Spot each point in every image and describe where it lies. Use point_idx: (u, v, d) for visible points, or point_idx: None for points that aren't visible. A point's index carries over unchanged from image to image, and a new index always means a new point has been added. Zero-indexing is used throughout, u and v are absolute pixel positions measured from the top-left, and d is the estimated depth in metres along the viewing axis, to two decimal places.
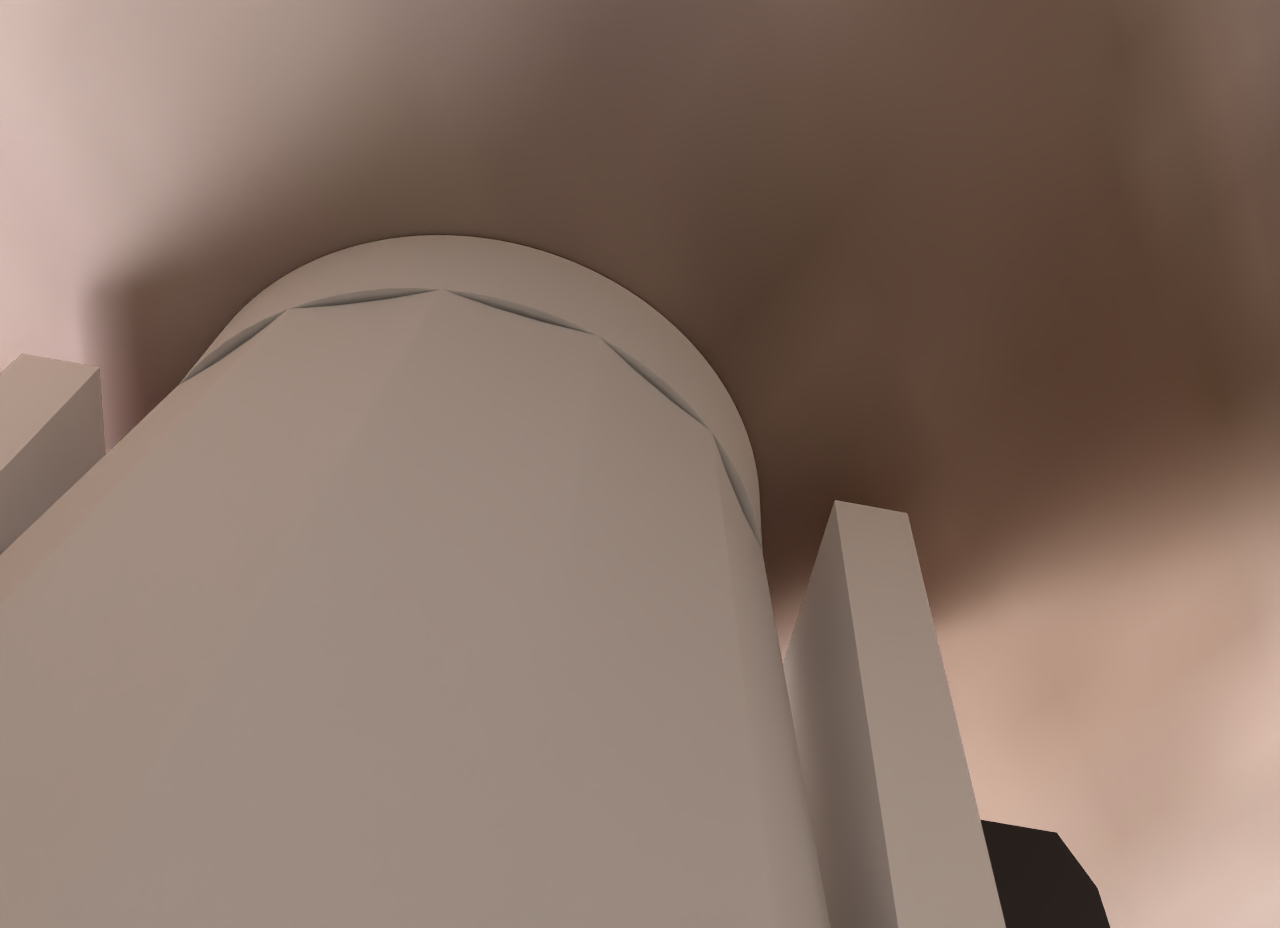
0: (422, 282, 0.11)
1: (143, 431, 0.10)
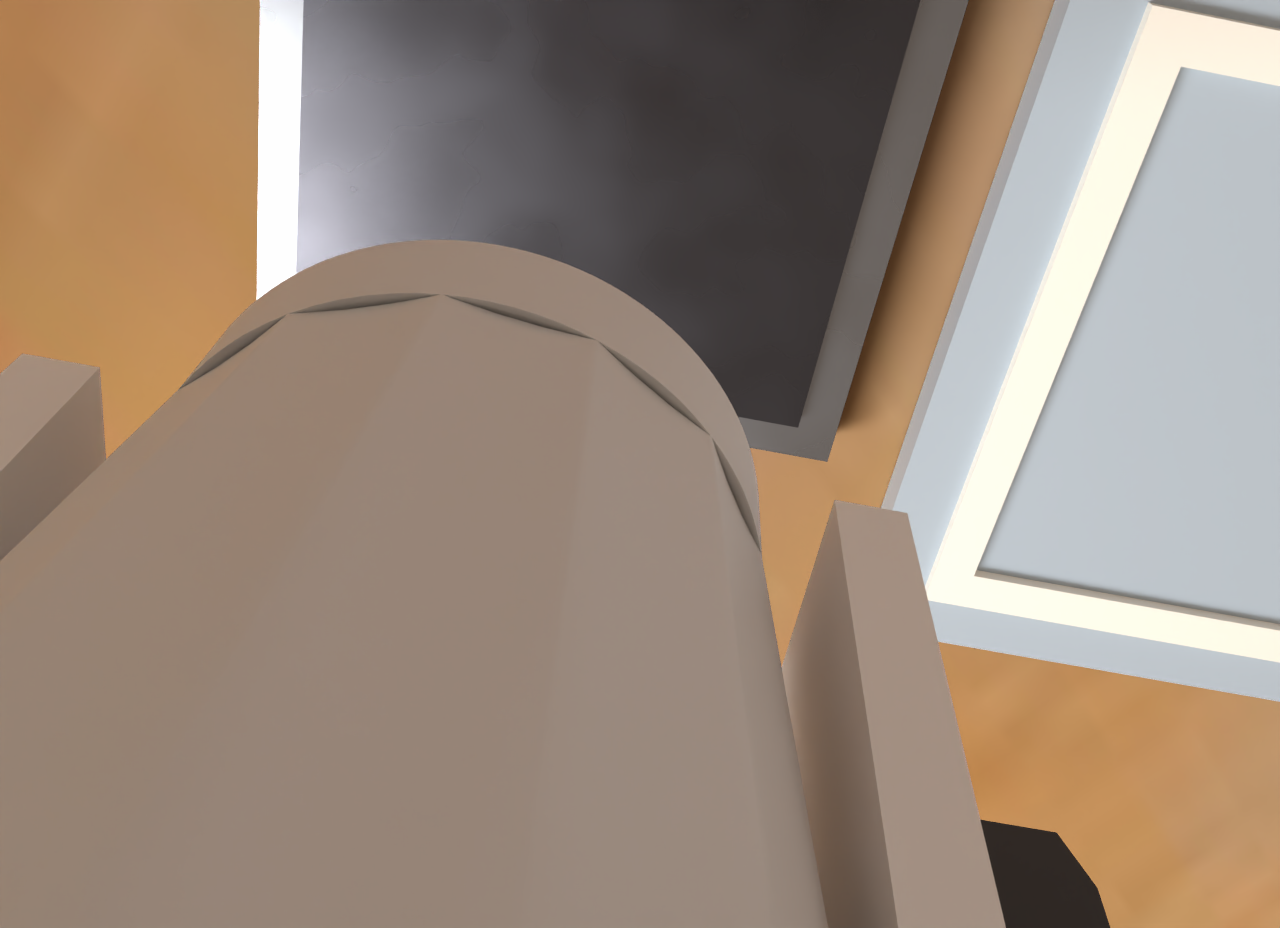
0: (421, 287, 0.11)
1: (143, 436, 0.10)
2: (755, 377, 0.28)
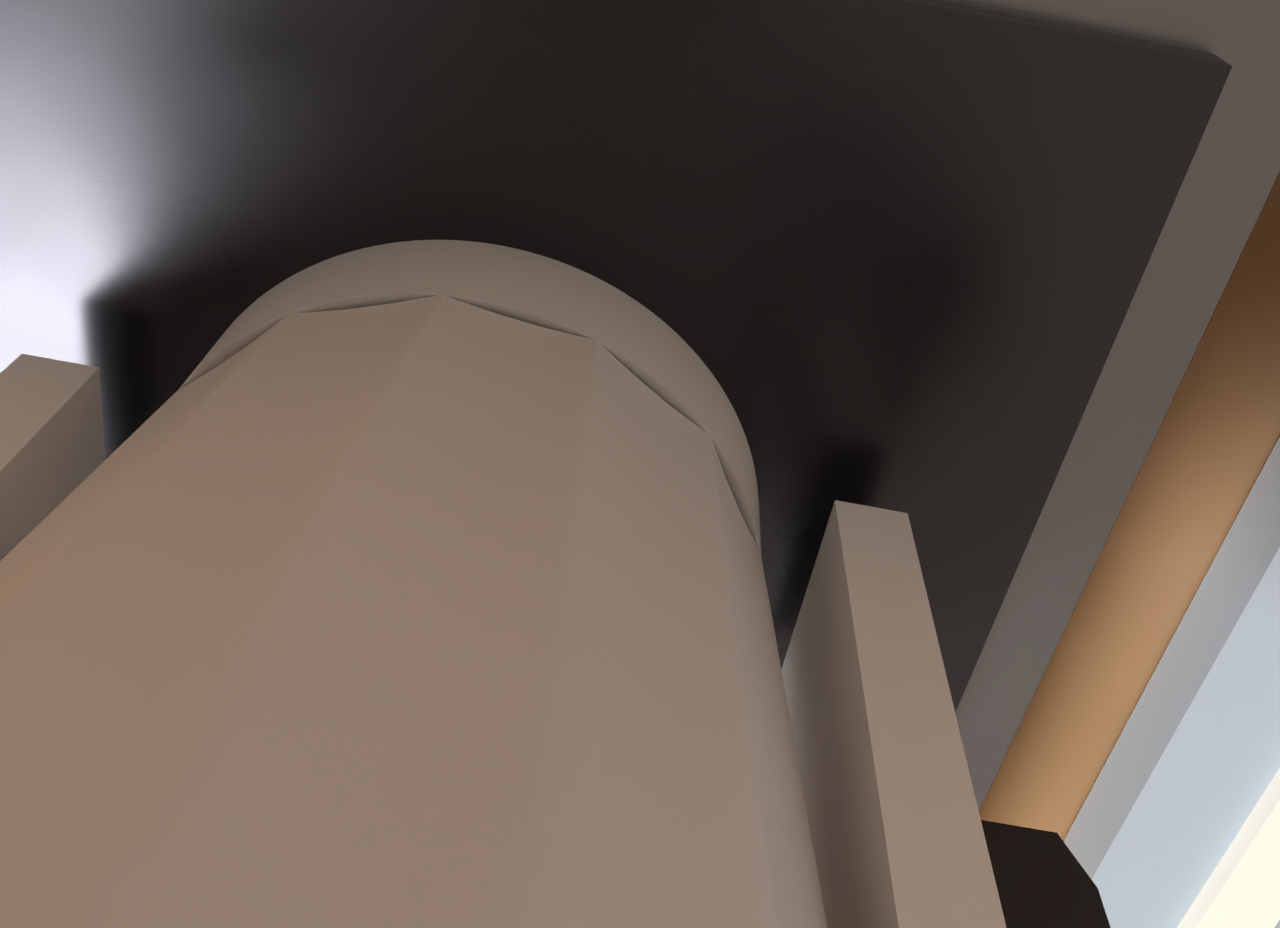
0: (421, 287, 0.11)
1: (143, 436, 0.10)
2: None
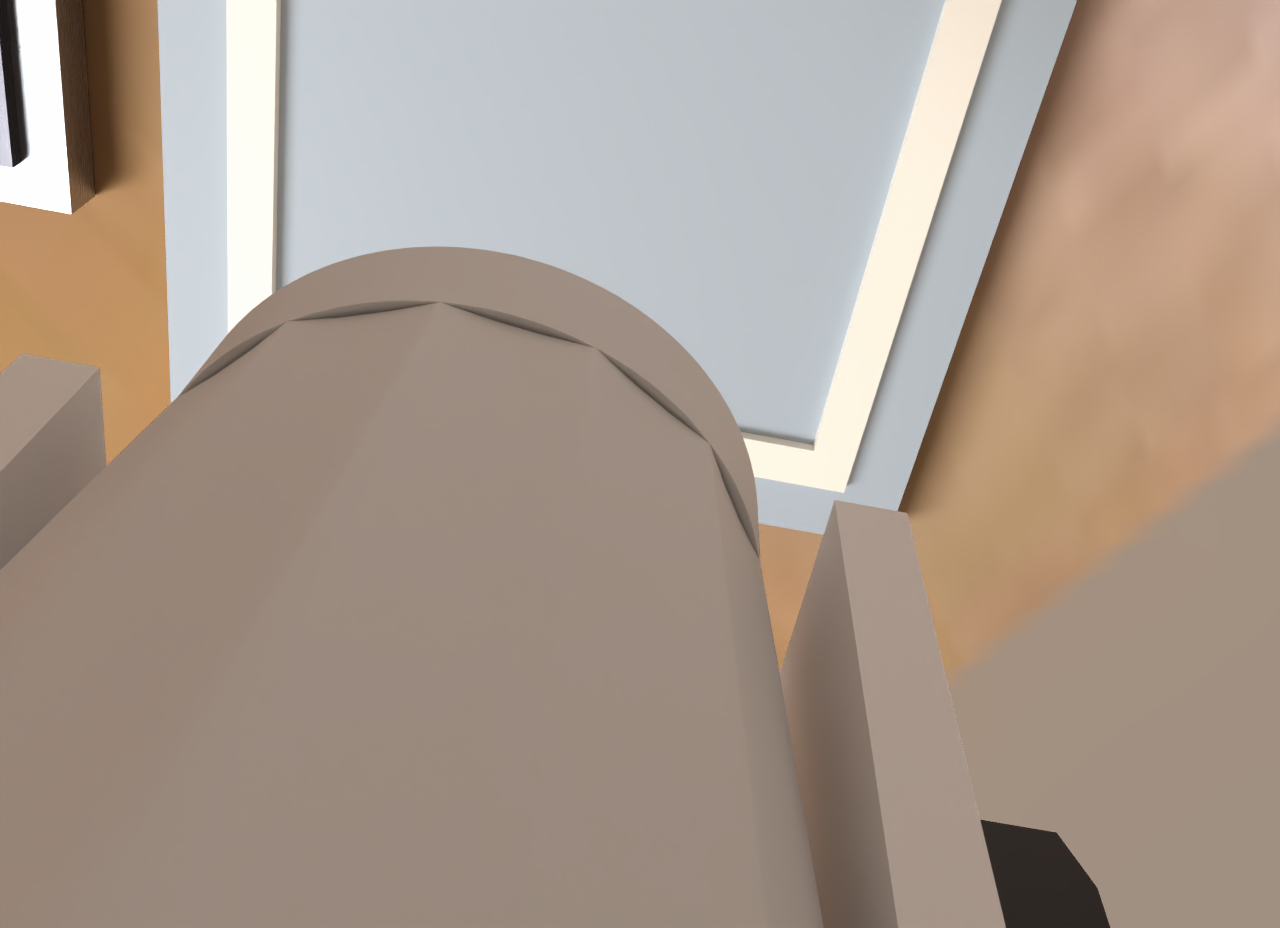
0: (420, 295, 0.11)
1: (143, 444, 0.10)
2: None
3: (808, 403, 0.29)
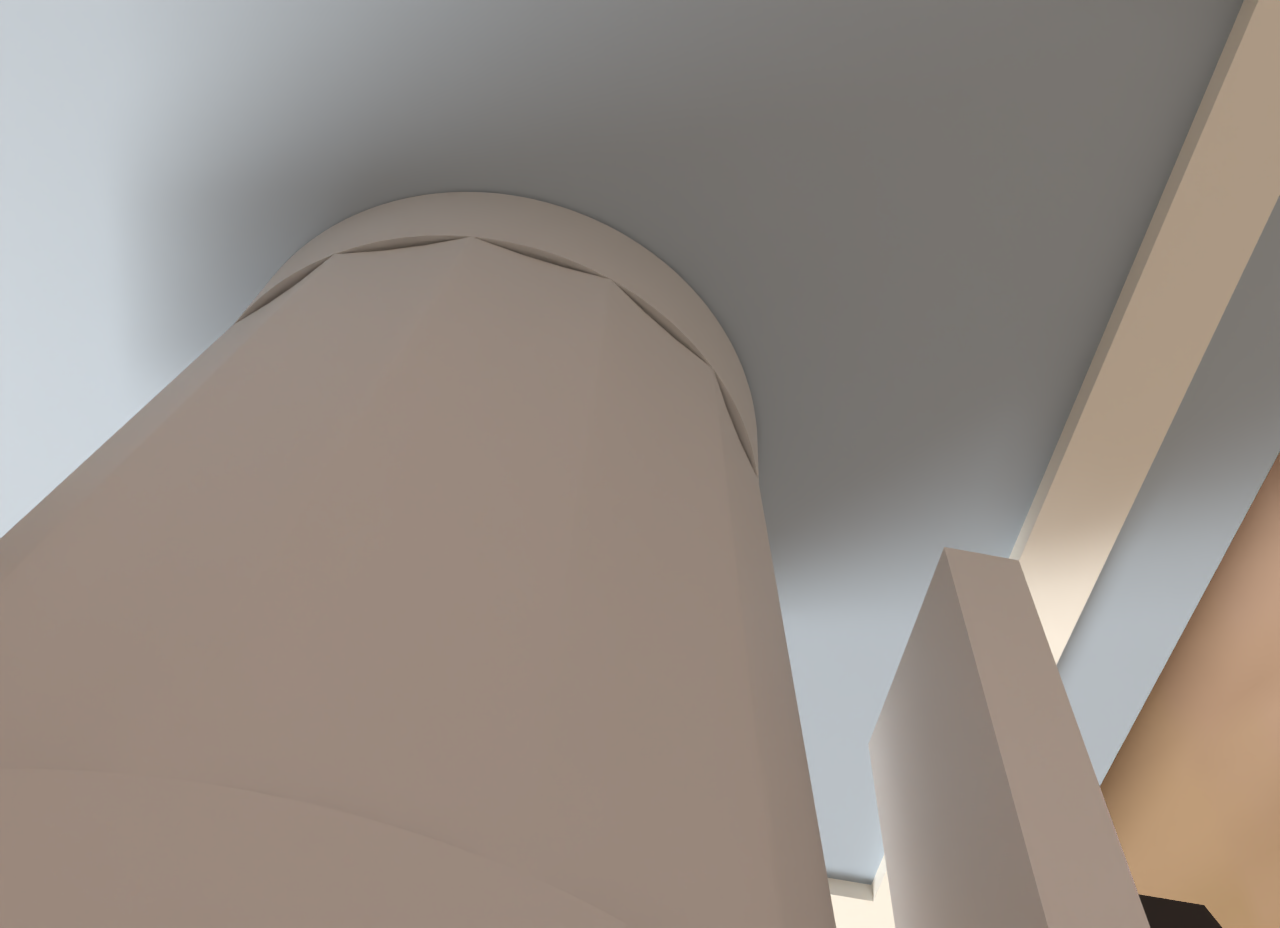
0: (454, 231, 0.12)
1: (207, 358, 0.11)
2: None
3: (865, 832, 0.18)
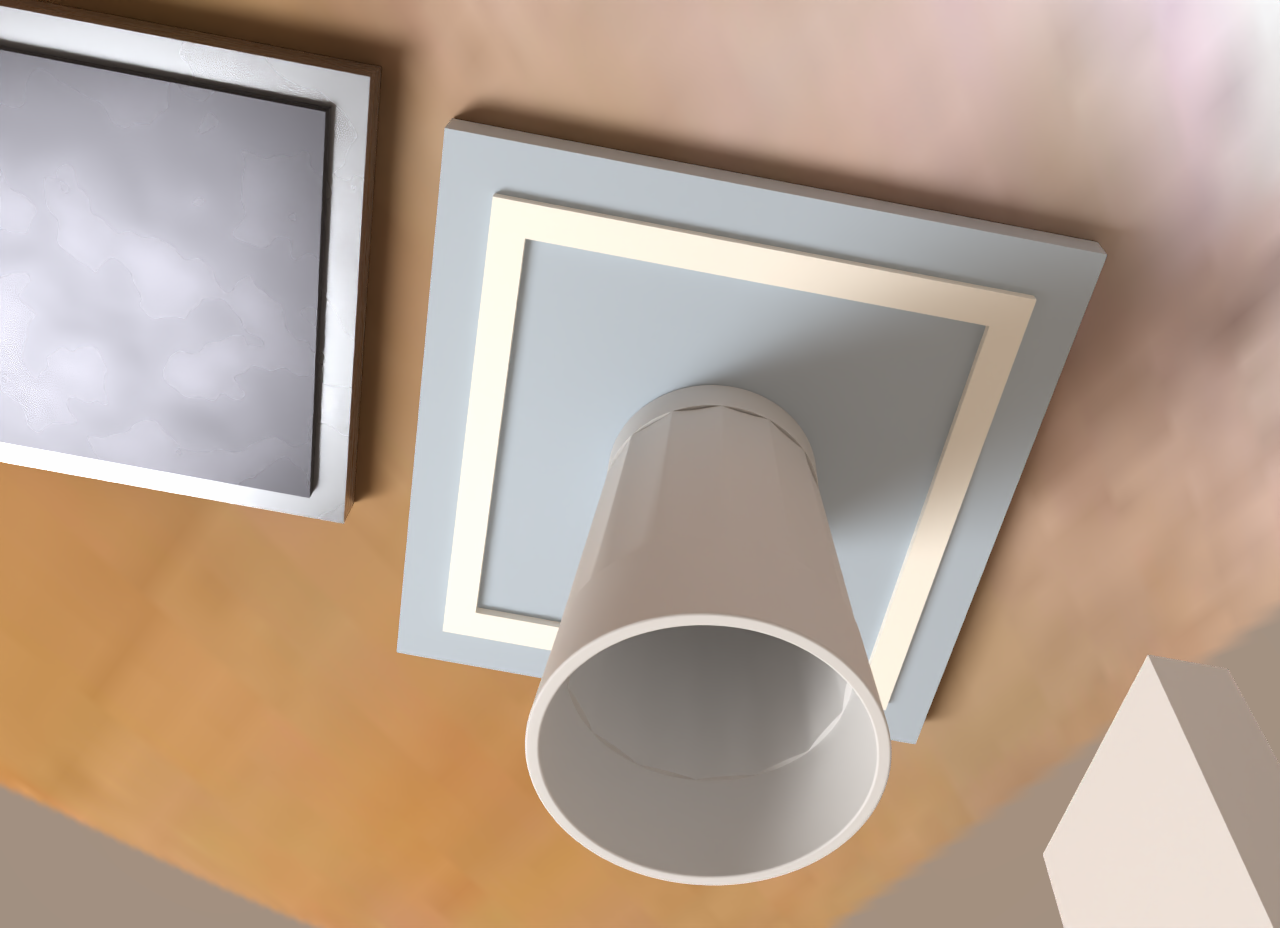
0: (714, 403, 0.34)
1: (638, 449, 0.33)
2: (269, 460, 0.37)
3: None
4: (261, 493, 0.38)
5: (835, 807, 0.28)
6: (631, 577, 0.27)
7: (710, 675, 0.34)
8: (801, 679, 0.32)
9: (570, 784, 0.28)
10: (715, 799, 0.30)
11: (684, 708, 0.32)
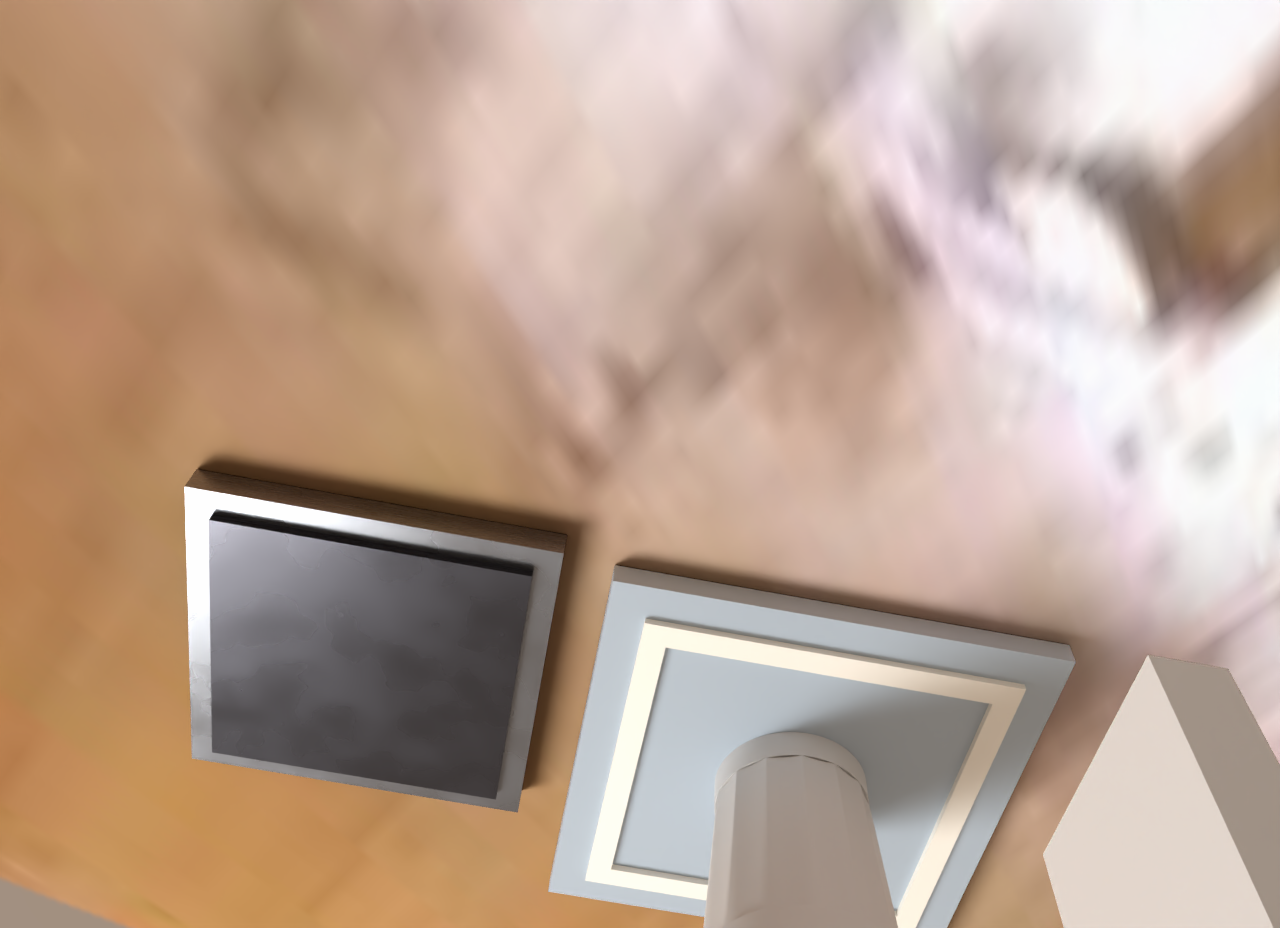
0: (796, 752, 0.48)
1: (744, 790, 0.47)
2: (468, 776, 0.51)
3: (894, 894, 0.54)
4: (458, 793, 0.52)
5: None
6: None
7: None
8: None
9: None
10: None
11: None
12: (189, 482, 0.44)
